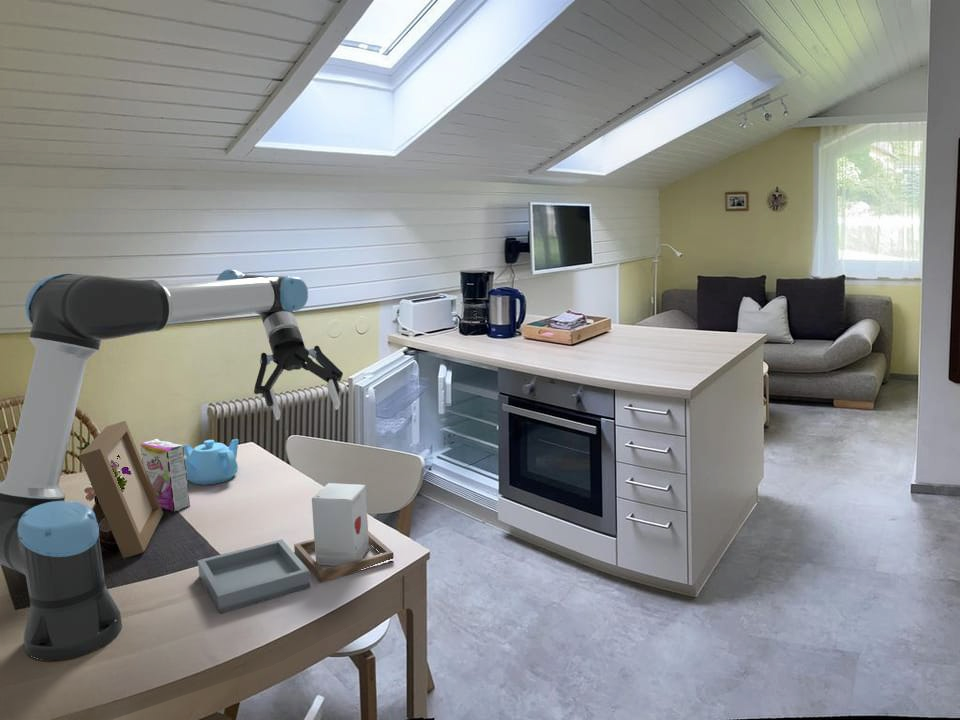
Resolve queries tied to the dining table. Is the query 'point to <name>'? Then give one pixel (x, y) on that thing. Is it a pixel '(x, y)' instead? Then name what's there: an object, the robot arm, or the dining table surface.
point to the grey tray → (252, 575)
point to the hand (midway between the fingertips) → (308, 411)
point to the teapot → (211, 462)
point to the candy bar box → (166, 473)
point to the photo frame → (124, 511)
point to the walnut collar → (342, 569)
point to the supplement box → (340, 524)
